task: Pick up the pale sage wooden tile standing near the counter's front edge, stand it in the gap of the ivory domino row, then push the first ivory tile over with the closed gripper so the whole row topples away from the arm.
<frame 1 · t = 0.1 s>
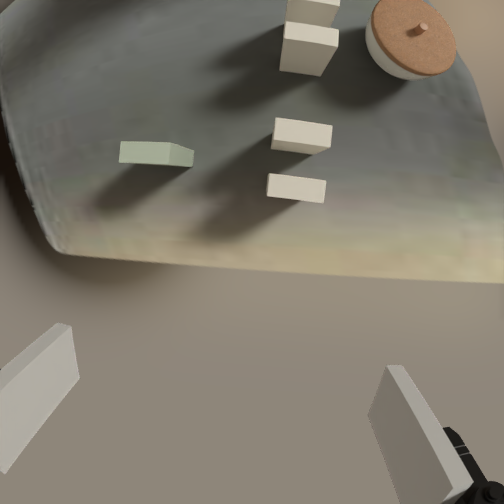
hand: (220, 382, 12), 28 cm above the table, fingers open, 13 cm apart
tile 5: (288, 185, 37), on the table
tile 4: (292, 143, 36), on the table
tile 1: (303, 32, 33), on the table
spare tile: (173, 157, 37), on the table
lidded jar: (392, 52, 33), on the table
tile 2: (300, 66, 34), on the table
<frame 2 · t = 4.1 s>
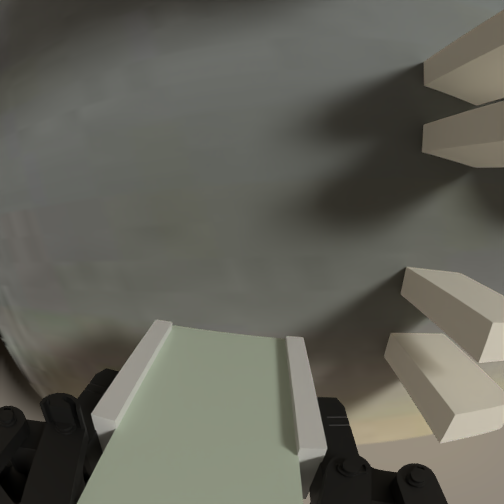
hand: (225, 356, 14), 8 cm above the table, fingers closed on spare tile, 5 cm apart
tile 5: (414, 344, 22), on the table
tile 4: (431, 283, 21), on the table
tile 1: (451, 83, 18), on the table
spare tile: (226, 352, 14), point 7 cm above the table, touching gripper
tile 2: (450, 146, 19), on the table
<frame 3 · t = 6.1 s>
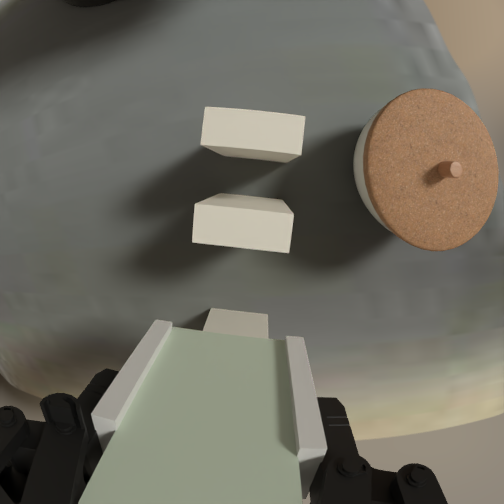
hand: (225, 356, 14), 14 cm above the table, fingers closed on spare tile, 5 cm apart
tile 4: (238, 321, 28), on the table
tile 1: (256, 147, 25), on the table
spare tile: (226, 353, 14), point 13 cm above the table, touching gripper
lidded jar: (396, 169, 25), on the table
tile 2: (250, 208, 26), on the table
when the fingers open (1 cm above the table, at t = 8.6 s): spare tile stays where it is, on the table.
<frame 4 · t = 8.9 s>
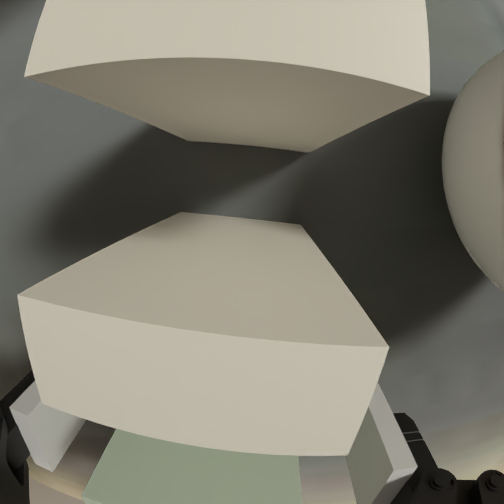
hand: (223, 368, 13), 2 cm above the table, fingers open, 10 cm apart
tile 1: (250, 121, 12), on the table
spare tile: (228, 346, 15), on the table
lidded jar: (488, 172, 12), on the table
tile 2: (237, 241, 14), on the table
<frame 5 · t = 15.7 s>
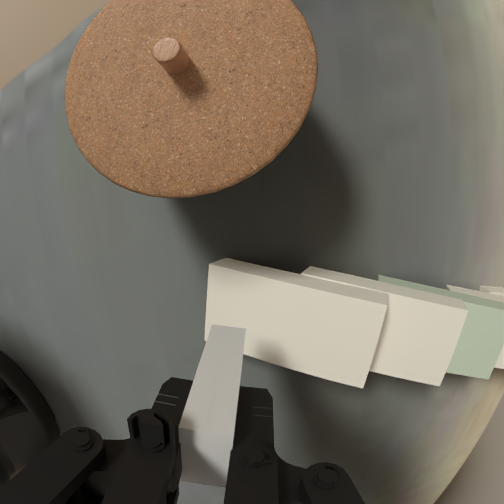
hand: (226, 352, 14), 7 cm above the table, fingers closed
tile 4: (439, 321, 20), point 1 cm above the table, tilted 69°, touching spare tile
tile 1: (215, 299, 20), point 1 cm above the table, tilted 67°, touching tile 2
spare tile: (369, 314, 20), point 1 cm above the table, tilted 69°, touching tile 2, tile 4
lidded jar: (209, 104, 18), on the table
tile 2: (299, 307, 20), point 1 cm above the table, tilted 67°, touching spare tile, tile 1
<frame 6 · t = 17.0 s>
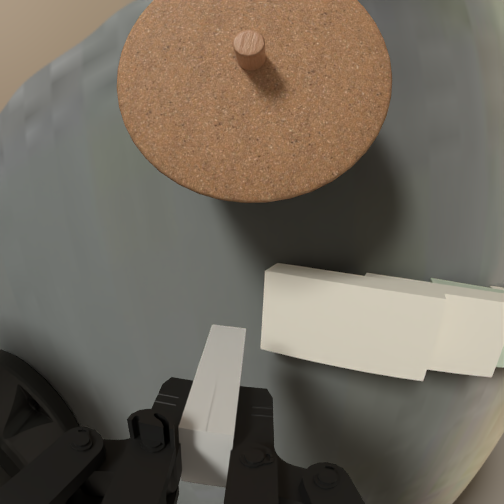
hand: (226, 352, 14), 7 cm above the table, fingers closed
tile 1: (269, 306, 19), point 1 cm above the table, tilted 68°, touching tile 2
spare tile: (424, 316, 19), point 1 cm above the table, tilted 69°, touching tile 2
lidded jar: (258, 105, 18), on the table
tile 2: (358, 314, 19), point 1 cm above the table, tilted 67°, touching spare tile, tile 1
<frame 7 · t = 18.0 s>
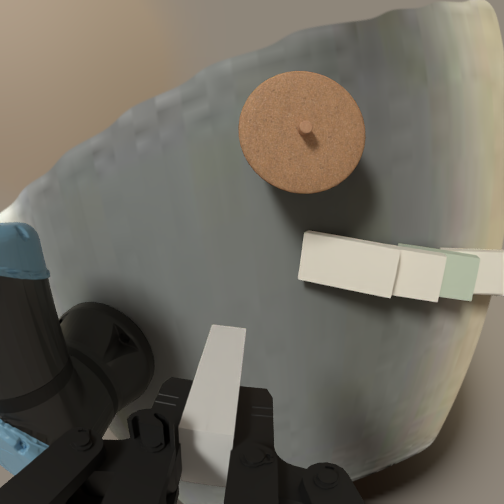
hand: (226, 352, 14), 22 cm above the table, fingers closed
tile 4: (439, 269, 34), point 1 cm above the table, tilted 68°, touching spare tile
tile 1: (303, 254, 34), point 1 cm above the table, tilted 69°, touching tile 2
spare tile: (395, 266, 34), point 1 cm above the table, tilted 68°, touching tile 2, tile 4
lidded jar: (295, 140, 33), on the table
tile 2: (354, 263, 34), point 1 cm above the table, tilted 68°, touching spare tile, tile 1
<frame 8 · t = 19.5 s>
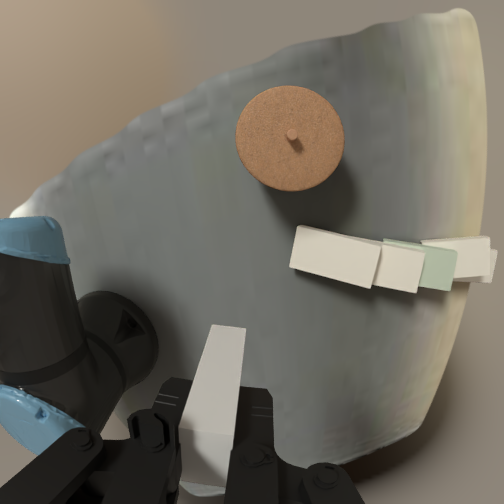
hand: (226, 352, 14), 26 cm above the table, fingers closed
tile 5: (442, 261, 39), point 1 cm above the table, tilted 90°, touching tile 4
tile 4: (421, 260, 38), point 1 cm above the table, tilted 70°, touching tile 5
tile 1: (295, 245, 39), point 1 cm above the table, tilted 69°
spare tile: (380, 258, 39), point 1 cm above the table, tilted 68°, touching tile 2
lidded jar: (285, 144, 37), on the table
tile 2: (343, 256, 39), point 1 cm above the table, tilted 68°, touching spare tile
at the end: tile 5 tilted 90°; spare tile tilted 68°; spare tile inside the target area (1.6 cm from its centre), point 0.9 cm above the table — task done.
